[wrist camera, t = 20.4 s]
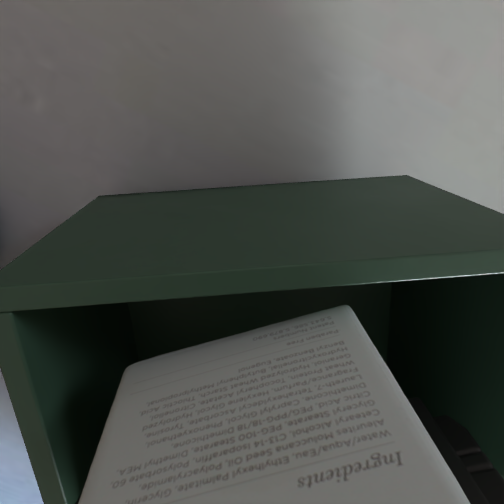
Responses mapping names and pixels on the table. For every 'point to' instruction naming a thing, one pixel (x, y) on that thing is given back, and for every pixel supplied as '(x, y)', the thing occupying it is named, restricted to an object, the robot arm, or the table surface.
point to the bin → (251, 298)
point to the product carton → (269, 424)
